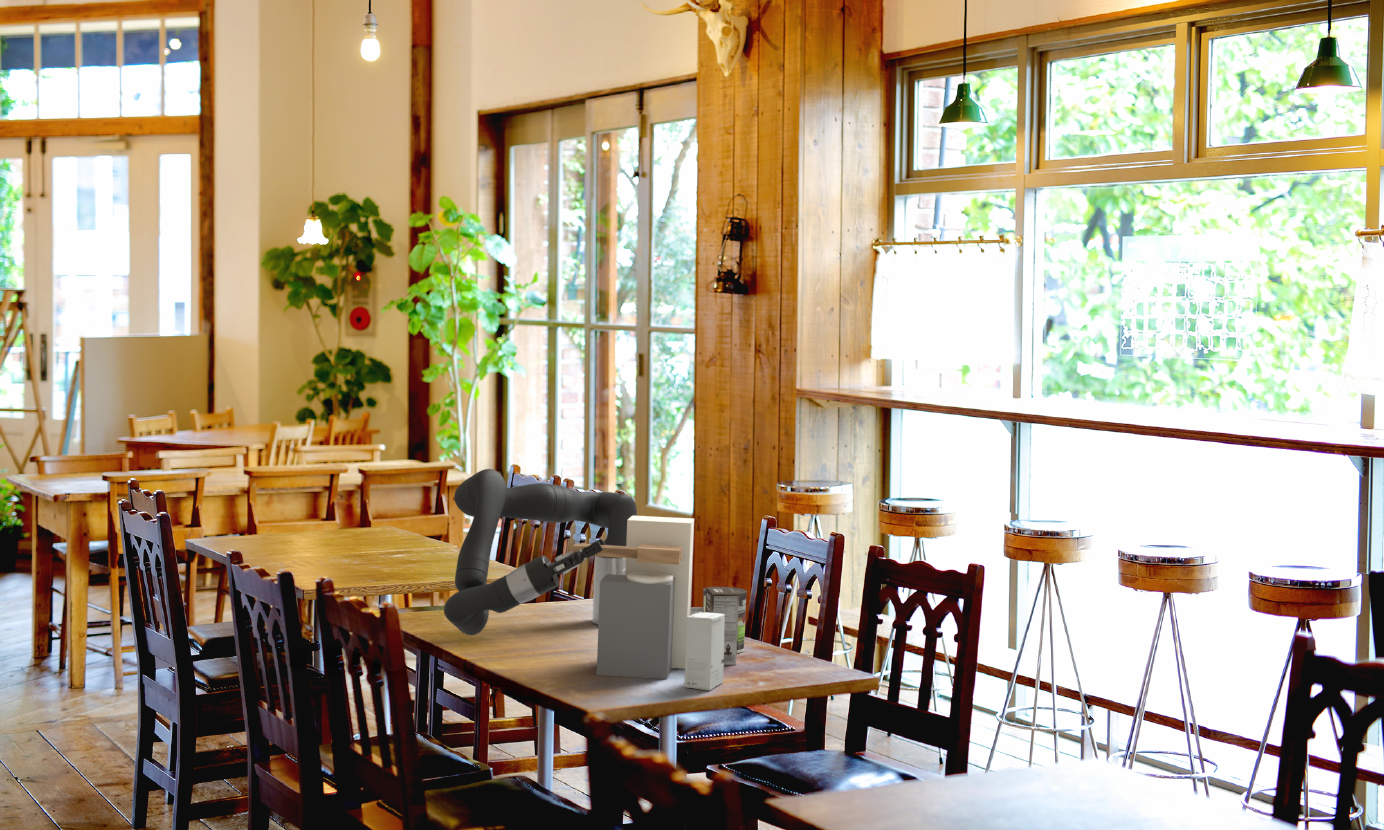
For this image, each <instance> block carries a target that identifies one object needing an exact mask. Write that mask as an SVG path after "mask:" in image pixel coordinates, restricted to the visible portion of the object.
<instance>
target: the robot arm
mask: <svg viewBox="0 0 1384 830" xmlns="http://www.w3.org/2000/svg"><path fill="white" fill-rule="evenodd" d="M453 497H454V498H453V499H454V503H455V505H456V507H457V508H458V509H459V510H460V511H461V512H462V513H463V514H465V515H466V516H469V517H473V519H472V522H471V524H470V527H469V529H468V531H467V534H466V536H465V538H464V540H463V542H462V544H461V546H460V550H459V553H458V556H457V560H456V561H457V563H456V569H455V576H454V585H455V588H456V590H457V592H456V593H455V592H454V593H453V594H452V595H451V596H449V598H448V599H447V600H446V602H445V603H444V606H443V614H444V616H445V618H446V620H447V621H449V623H451V624H452V625H453V626H454V627H456V628H457V629H458V631H460V632H461V633H462V634H464V635H466V636H476V635H478V634H480V633H481V632H482V631H483V630H484V628H485V627H486V626H487V623H488V621H489V613H490V611H493V612H495V613H498V614H503V613H505V612H508V611H509V610H510V611H511V610H512V609H513V608H515V607H518V606H520V605H521V604H524V603H527V602H530V601H532V600H534V599H536V598H538V597H540V596H542V595H544V594H547V593H548V592H550V591H552V590H554V589H556V588H557V587H559V586H560V579H559V577H558V575H562V576H564V575H566V574H567V573H569V572H570V571H572V570H573V569H575V568H578V567H579V566H580V565H581V564H583V562H586V561H587V560H588V559H589V558H591V557H594V568H593V570H594V571H593V575H594V576H593V597H592V601H593V602H592V620H591V621H592V623H593V624H595V625H598V623H599V597H600V581H601V580H602V579H603V578H604V576H605V575H606V574H617V575H625V568H626V558H615V557H598V556H593V555H595V554H597V553H599V552H601V551H602V547H601V545H613V546H626V542H627V520H628V519H629V518H630V517H631V516H638V511H637V510H638V508H637V504H636V502H635V499H634V498H633V497H632V496H630V495H629V494H624V493H618V492H611V491H601V492H600V491H599V492H584V491H583V492H582V491H577V490H574V489H573V488H569V487H567V486H563V485H559V484H550V483H541V482H540V483H539V482H538V483H529V484H523V485H518V486H513V487H508V486H507V484H506V480H505V478H504V477H503V476H502V474H501V473H499V471H497V470H496V469H491V468H485V469H482V470H480V471H478V472H476V473H474V474H473V475H471V476H470V477H468V478H466V479H465V480H464V481H462V482H461V483H460V484H459V485H458V486H457V488H456V489H455V491H454V496H453ZM500 518H511V519H519V520H529V521H538V522H543V523H544V522H545V523H555V524H556V523H558V524H559V523H560V524H561V523H567V522H575V521H576V522H583V523H586V524H590V525H593V526H597V527H600V528H603V529H604V528H605V529H607V535H606V537H605V540H604V539H601V538H600V539H598V540H596V541H593V542H592V543H590V544H591V545H589V546H587V547H586V548H584V549H579V551H577V552H574V553H573V549H571V550H570V551H568V552H566V553H564V554H563V553H561V554H560V555H558V556H556V557H555V558H554V562H551V561H550V559H549V558H548V557H547V556H546V555H541V556H538V557H536V558H534V559H532V560H531V561H529V562H526V563H524V564H522V565H521V566H519V567H517V568H515V569H513V570H512V571H510V572H509V573H508V574H506V575H504V576H503V575H502V576H501V577H500V578H497V579H496V580H494V581H492V582H490V583H487V581H488V575H489V567H490V559H491V553H492V547H493V544H494V540H495V535H496V531H497V529H498V526H499V521H500ZM583 550H584V551H583Z"/></svg>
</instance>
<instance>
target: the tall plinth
mask: <svg viewBox="0 0 1384 830" xmlns="http://www.w3.org/2000/svg"><path fill="white" fill-rule="evenodd" d="M694 526H695V518H693V517H692V518H690V517H672V516H671V517H670V516H666V517H665V516H664V517H663V516H647V515H637V516H631V517H630V518H629V519H628V520H627V542H626V546H630V547H639V546H640V545H641V544H651V545H669V546H683V547H682V561H681V562H680V564H679V565H677V564H660V563H643V562H637V559H632V558H626V568H625V575H627V574H628V573H631V572H661V573H667V574H671V575H673V577H675V589H674V615H673V640H672V665H671V669H684V670H685V655H686V620H687V617H688V616H690V610H691V606H692V603H691V602H692V582H693V581H692V579H693V560H694V559H693V558H694V556H693V555H694V534H695V533H694V532H695V531H694V529H695V527H694Z"/></svg>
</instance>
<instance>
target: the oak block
mask: <svg viewBox="0 0 1384 830" xmlns="http://www.w3.org/2000/svg"><path fill="white" fill-rule="evenodd" d="M589 545H591V543H577V542H576V543H575V544H573V546H572V550H573V553H574V552H577V551H579V549H584V548H586V547H587V546H589ZM601 547H602V551H601V552H599V553H597V554H595V555H593V556H592V557H595V556H598V557H615V558H632V559H637V562H643V563H660V564H677V565H679V564H680V562H681V561H682V547H683V546H669V545H651V544H641V545H640V546H639V547H630V546H613V545H601ZM583 551H584V550H583Z"/></svg>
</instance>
